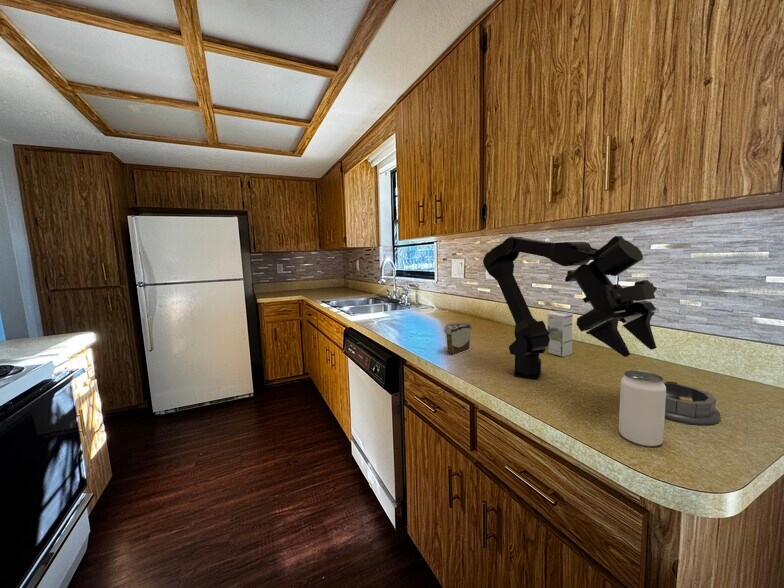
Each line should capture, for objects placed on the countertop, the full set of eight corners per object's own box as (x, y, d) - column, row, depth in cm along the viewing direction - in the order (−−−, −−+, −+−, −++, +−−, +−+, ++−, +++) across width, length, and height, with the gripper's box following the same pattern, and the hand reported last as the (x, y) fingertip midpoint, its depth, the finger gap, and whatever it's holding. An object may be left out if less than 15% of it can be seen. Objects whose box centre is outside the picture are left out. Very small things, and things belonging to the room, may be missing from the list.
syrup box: (572, 354, 106) (573, 312, 105) (562, 357, 103) (563, 314, 102) (556, 350, 111) (557, 310, 110) (546, 353, 108) (547, 312, 107)
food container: (458, 346, 121) (458, 320, 120) (471, 349, 117) (471, 323, 116) (437, 353, 114) (436, 326, 113) (450, 356, 109) (450, 328, 108)
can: (619, 424, 63) (622, 367, 61) (662, 435, 59) (666, 373, 57) (617, 439, 58) (620, 377, 56) (663, 452, 54) (667, 385, 52)
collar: (645, 416, 65) (646, 395, 65) (633, 392, 76) (634, 374, 76) (732, 431, 59) (734, 408, 58) (705, 402, 70) (707, 383, 70)
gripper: (601, 269, 60) (654, 343, 53) (655, 264, 68) (708, 329, 61) (558, 298, 69) (599, 365, 62) (610, 291, 76) (652, 350, 69)
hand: (641, 352), depth 63 cm, fingers open, 9 cm apart
